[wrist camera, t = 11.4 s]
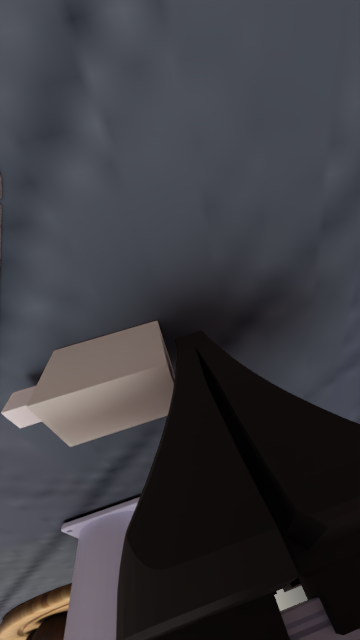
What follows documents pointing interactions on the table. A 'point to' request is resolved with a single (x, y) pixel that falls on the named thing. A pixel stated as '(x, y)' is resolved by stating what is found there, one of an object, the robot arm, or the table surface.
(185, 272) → the table surface
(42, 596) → the wooden plate with food
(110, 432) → the cable plug
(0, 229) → the handheld gaming device
